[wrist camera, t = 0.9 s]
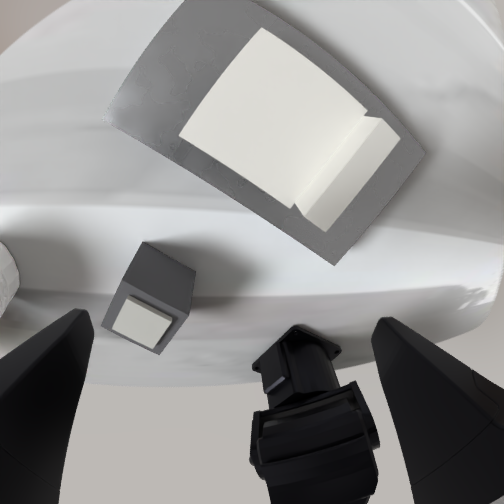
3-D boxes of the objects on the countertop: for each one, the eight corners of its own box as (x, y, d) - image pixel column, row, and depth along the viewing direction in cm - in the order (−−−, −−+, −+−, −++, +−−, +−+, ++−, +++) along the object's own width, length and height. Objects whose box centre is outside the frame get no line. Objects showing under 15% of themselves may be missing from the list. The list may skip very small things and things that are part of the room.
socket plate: (406, 146, 17) (426, 152, 15) (323, 248, 21) (334, 266, 19) (208, -7, 12) (206, -22, 10) (117, 117, 15) (102, 119, 13)
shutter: (374, 126, 14) (405, 132, 11) (304, 214, 16) (320, 238, 14) (259, 33, 11) (267, 14, 8) (182, 133, 14) (170, 139, 11)
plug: (195, 271, 21) (188, 319, 16) (169, 309, 22) (158, 359, 18) (142, 241, 19) (119, 283, 15) (120, 284, 21) (99, 330, 16)
